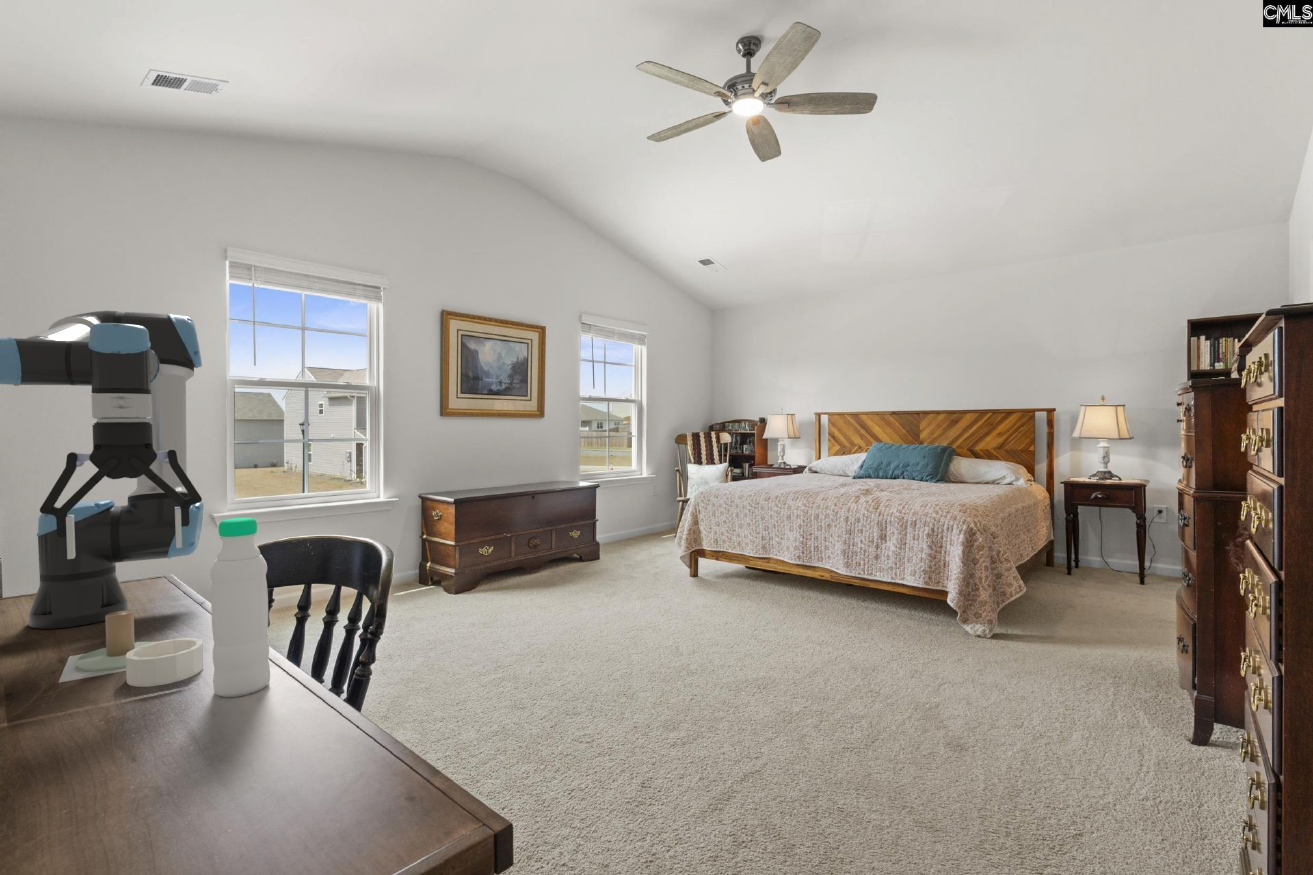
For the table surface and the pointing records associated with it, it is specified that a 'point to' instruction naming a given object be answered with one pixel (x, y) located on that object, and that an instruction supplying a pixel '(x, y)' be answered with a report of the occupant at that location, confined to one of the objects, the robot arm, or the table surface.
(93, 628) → the table surface
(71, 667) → the mat
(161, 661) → the bowl
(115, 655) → the lid
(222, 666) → the water bottle
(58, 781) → the table surface
